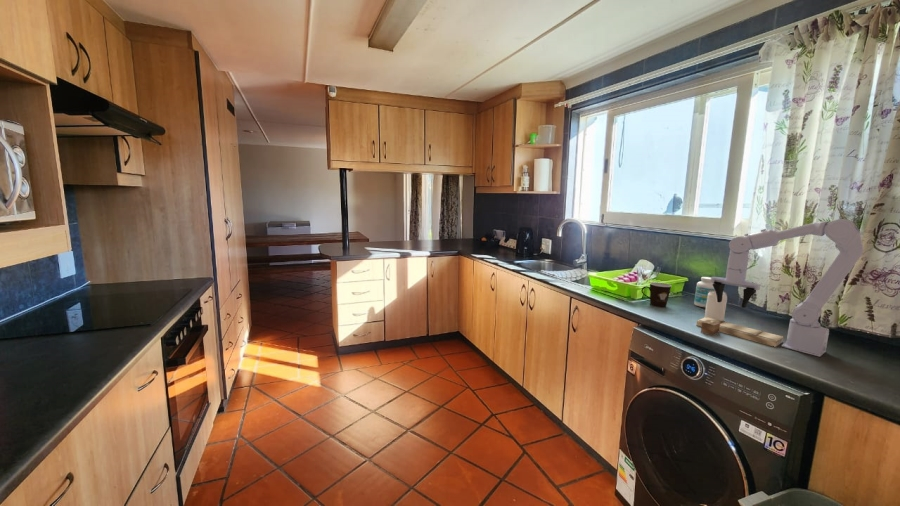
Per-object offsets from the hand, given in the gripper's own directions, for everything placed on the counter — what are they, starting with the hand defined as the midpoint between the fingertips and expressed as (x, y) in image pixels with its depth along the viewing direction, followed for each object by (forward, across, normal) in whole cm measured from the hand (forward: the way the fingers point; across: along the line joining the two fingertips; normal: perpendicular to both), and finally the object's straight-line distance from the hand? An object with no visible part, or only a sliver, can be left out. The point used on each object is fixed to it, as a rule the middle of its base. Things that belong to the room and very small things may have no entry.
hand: (731, 304), depth 135 cm
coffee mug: (+11, +32, -10) cm, 35 cm away
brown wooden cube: (+11, +3, +8) cm, 13 cm away
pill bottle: (+11, +19, -29) cm, 36 cm away
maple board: (+10, -3, 0) cm, 11 cm away
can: (+11, +8, -10) cm, 17 cm away
